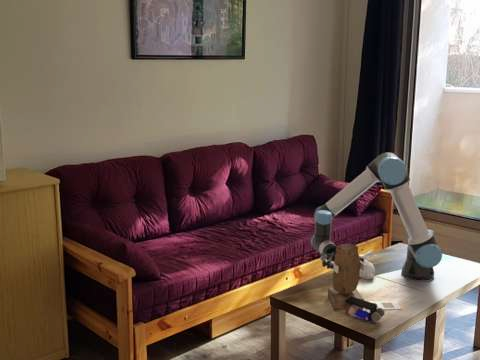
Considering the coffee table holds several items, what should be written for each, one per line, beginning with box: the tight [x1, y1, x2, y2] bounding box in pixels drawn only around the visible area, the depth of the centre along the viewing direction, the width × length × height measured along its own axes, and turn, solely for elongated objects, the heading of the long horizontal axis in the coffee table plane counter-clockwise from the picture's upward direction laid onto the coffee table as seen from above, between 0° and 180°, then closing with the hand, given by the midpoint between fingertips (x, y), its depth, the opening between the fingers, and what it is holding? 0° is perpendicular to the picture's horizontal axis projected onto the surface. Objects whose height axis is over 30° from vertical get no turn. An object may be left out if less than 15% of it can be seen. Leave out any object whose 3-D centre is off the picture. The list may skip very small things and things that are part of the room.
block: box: [332, 242, 360, 294], centre depth 244 cm, size 11×8×20 cm
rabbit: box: [359, 249, 376, 280], centre depth 278 cm, size 12×9×12 cm
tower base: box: [327, 286, 364, 312], centre depth 247 cm, size 12×13×5 cm
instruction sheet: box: [365, 300, 402, 311], centre depth 247 cm, size 15×8×1 cm, turn 94°
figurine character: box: [344, 296, 386, 325], centre depth 234 cm, size 7×8×15 cm
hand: (351, 268), depth 241 cm, fingers closed on block, 11 cm apart
